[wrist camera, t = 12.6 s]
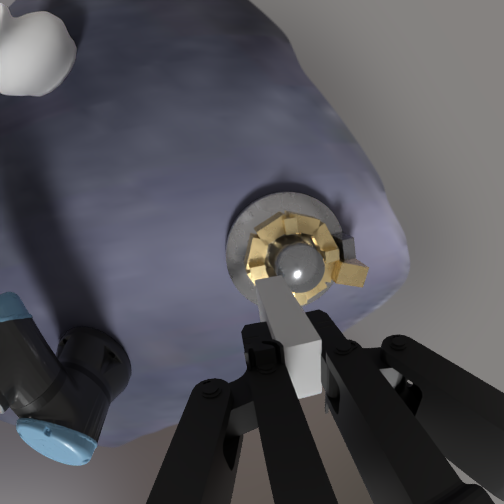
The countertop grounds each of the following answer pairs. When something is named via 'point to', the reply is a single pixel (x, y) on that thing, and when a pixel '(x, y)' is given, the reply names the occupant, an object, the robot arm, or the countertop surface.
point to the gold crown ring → (294, 223)
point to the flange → (284, 245)
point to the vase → (33, 53)
